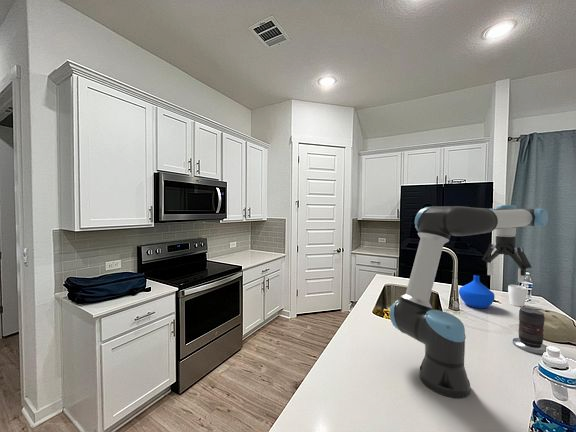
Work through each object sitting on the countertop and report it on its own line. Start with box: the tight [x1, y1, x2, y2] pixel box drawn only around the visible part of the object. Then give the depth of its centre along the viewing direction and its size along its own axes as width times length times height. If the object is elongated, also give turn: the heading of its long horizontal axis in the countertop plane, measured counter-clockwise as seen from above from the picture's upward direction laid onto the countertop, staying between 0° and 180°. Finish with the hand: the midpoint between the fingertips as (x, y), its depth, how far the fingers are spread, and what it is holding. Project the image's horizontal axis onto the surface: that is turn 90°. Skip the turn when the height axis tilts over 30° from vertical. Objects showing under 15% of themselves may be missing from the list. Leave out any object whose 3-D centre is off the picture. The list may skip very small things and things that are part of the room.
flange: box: [512, 337, 548, 356], centre depth 110 cm, size 12×12×1 cm
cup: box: [507, 284, 528, 308], centre depth 161 cm, size 9×9×12 cm
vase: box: [458, 274, 496, 309], centre depth 159 cm, size 18×18×19 cm
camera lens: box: [518, 307, 545, 348], centre depth 110 cm, size 8×8×15 cm
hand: (504, 278), depth 124 cm, fingers open, 13 cm apart
